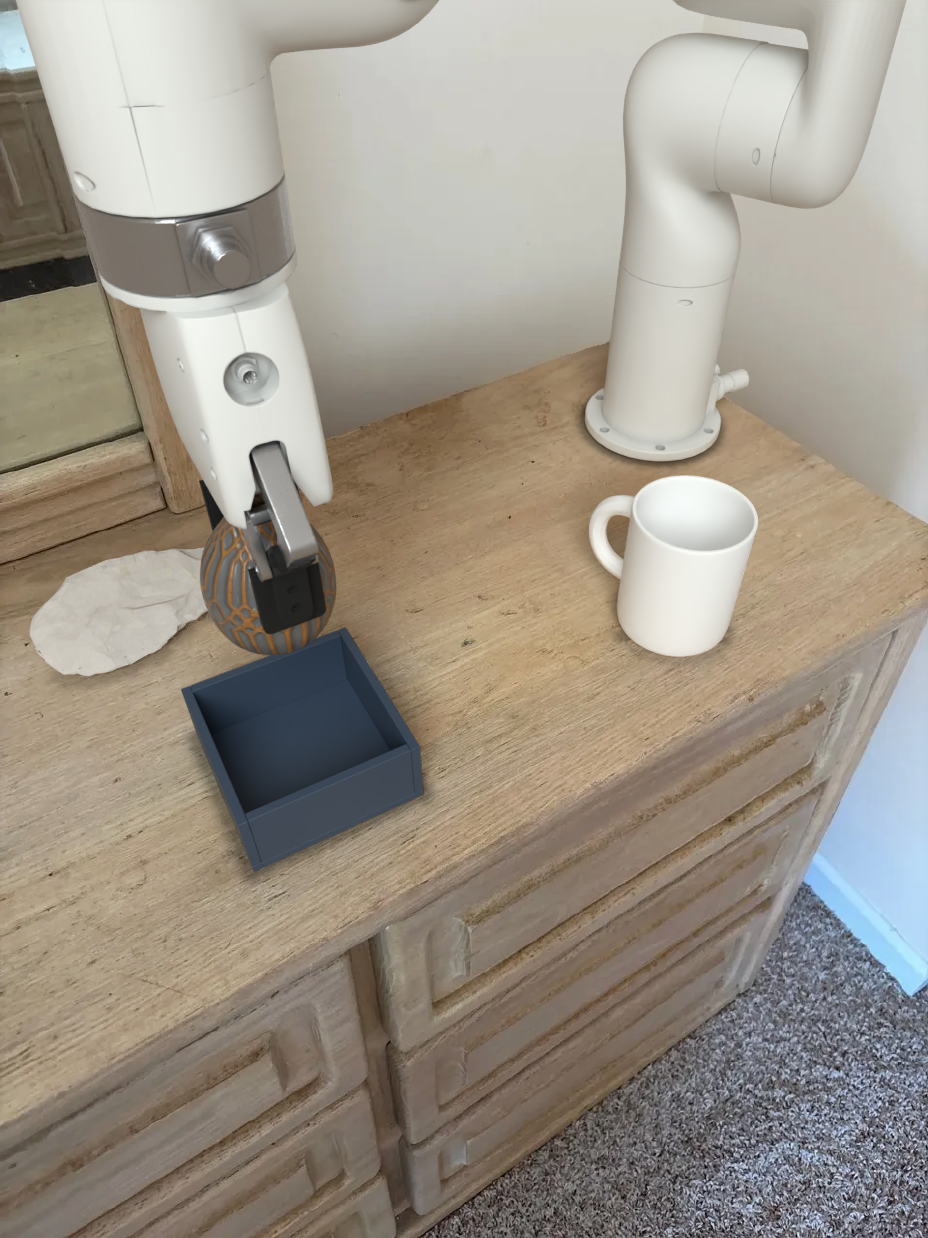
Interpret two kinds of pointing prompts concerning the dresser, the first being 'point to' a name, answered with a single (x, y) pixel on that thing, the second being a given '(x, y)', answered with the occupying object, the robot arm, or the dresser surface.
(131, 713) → the dresser surface
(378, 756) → the bin
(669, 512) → the mug
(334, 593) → the vase
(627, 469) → the dresser surface
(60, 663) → the stone tool
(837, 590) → the dresser surface
